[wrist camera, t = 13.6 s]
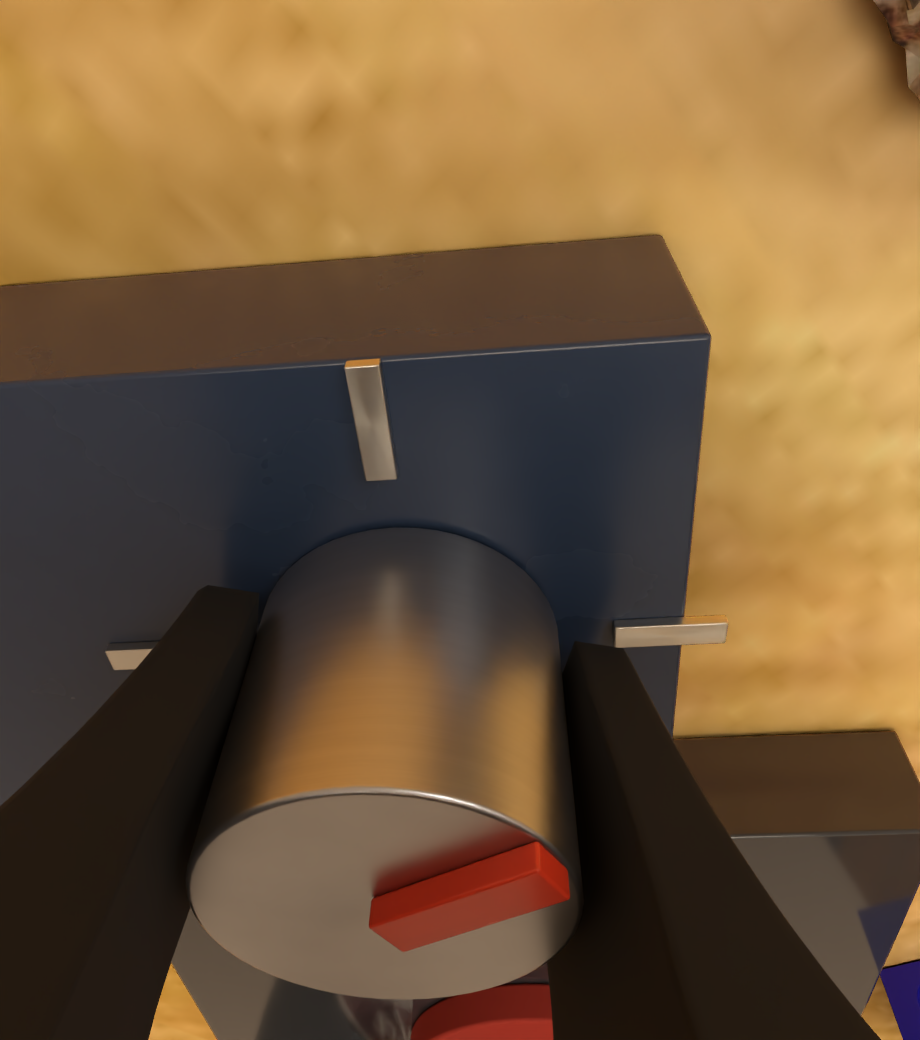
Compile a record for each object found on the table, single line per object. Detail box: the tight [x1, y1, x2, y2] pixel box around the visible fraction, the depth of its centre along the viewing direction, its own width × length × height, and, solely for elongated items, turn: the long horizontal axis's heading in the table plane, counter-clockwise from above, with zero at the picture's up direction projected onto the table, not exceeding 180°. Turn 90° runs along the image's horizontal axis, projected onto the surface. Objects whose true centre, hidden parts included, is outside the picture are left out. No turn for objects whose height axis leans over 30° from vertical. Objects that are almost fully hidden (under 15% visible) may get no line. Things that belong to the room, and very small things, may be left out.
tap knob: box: [185, 527, 584, 1000], centre depth 9 cm, size 4×4×4 cm
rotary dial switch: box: [0, 235, 728, 806], centre depth 12 cm, size 12×8×3 cm
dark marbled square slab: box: [171, 731, 920, 1040], centre depth 20 cm, size 15×14×2 cm
